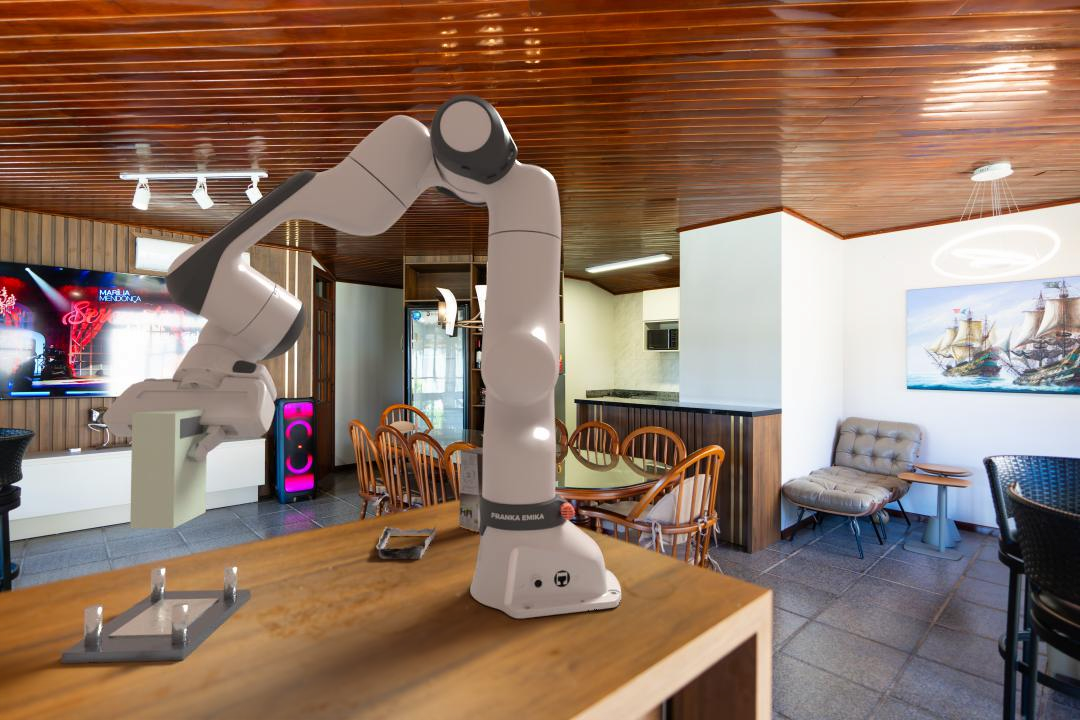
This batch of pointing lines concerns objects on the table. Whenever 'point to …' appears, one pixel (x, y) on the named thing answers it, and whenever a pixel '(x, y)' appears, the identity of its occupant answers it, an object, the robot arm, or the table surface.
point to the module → (166, 468)
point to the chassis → (158, 623)
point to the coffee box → (470, 487)
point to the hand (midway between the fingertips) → (167, 459)
